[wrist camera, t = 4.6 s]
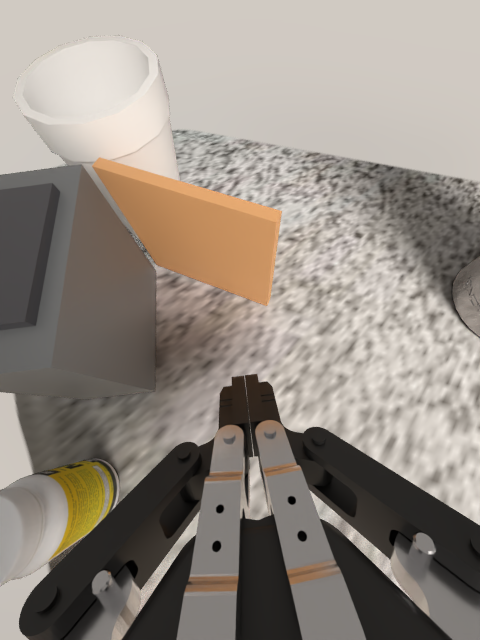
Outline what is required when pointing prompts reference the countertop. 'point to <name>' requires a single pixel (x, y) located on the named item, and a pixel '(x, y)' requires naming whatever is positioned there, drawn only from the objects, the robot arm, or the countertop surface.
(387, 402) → the countertop surface
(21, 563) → the supplement bottle
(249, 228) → the side door
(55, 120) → the foam cup
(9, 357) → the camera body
